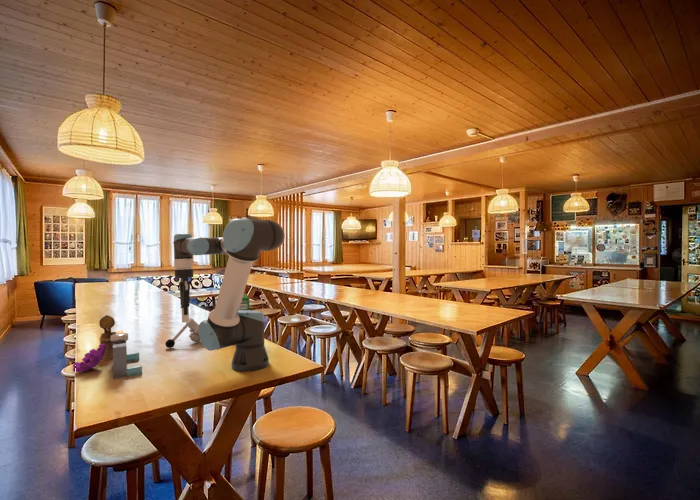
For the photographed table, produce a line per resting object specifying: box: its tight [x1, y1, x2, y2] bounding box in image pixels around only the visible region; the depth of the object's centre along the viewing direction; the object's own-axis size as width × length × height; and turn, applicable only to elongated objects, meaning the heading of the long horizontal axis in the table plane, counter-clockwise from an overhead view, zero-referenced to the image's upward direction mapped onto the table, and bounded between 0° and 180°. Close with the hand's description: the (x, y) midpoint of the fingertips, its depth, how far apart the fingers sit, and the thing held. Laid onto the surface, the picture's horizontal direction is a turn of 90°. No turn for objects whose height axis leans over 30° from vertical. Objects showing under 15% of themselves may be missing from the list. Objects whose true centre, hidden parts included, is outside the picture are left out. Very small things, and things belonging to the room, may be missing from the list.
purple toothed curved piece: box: [72, 344, 106, 373], centre depth 147 cm, size 11×15×10 cm
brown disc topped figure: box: [99, 315, 116, 361], centre depth 165 cm, size 9×14×18 cm, turn 40°
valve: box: [165, 317, 201, 349], centre depth 183 cm, size 10×18×15 cm
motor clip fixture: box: [111, 330, 143, 380], centre depth 148 cm, size 22×10×14 cm, turn 33°
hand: (185, 322), depth 160 cm, fingers closed
